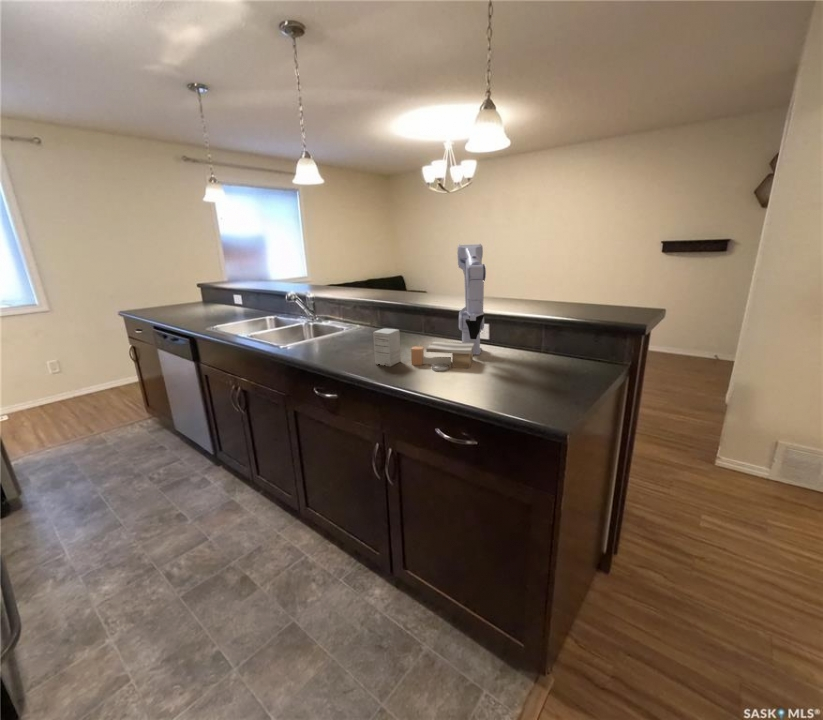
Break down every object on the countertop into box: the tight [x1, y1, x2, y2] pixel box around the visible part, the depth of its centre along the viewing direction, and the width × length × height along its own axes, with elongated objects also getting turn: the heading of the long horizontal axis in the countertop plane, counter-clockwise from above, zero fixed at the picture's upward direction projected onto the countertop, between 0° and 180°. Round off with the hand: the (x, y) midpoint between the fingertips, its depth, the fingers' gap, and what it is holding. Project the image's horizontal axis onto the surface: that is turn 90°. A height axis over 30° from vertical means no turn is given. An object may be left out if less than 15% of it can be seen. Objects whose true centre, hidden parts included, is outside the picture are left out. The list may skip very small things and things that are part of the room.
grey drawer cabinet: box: [372, 327, 402, 367], centre depth 145 cm, size 7×7×13 cm
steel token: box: [431, 363, 450, 373], centre depth 138 cm, size 6×6×2 cm
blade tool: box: [410, 346, 452, 366], centre depth 144 cm, size 4×14×6 cm, turn 80°
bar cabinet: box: [426, 341, 474, 369], centre depth 144 cm, size 11×16×7 cm
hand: (474, 336), depth 142 cm, fingers open, 7 cm apart
